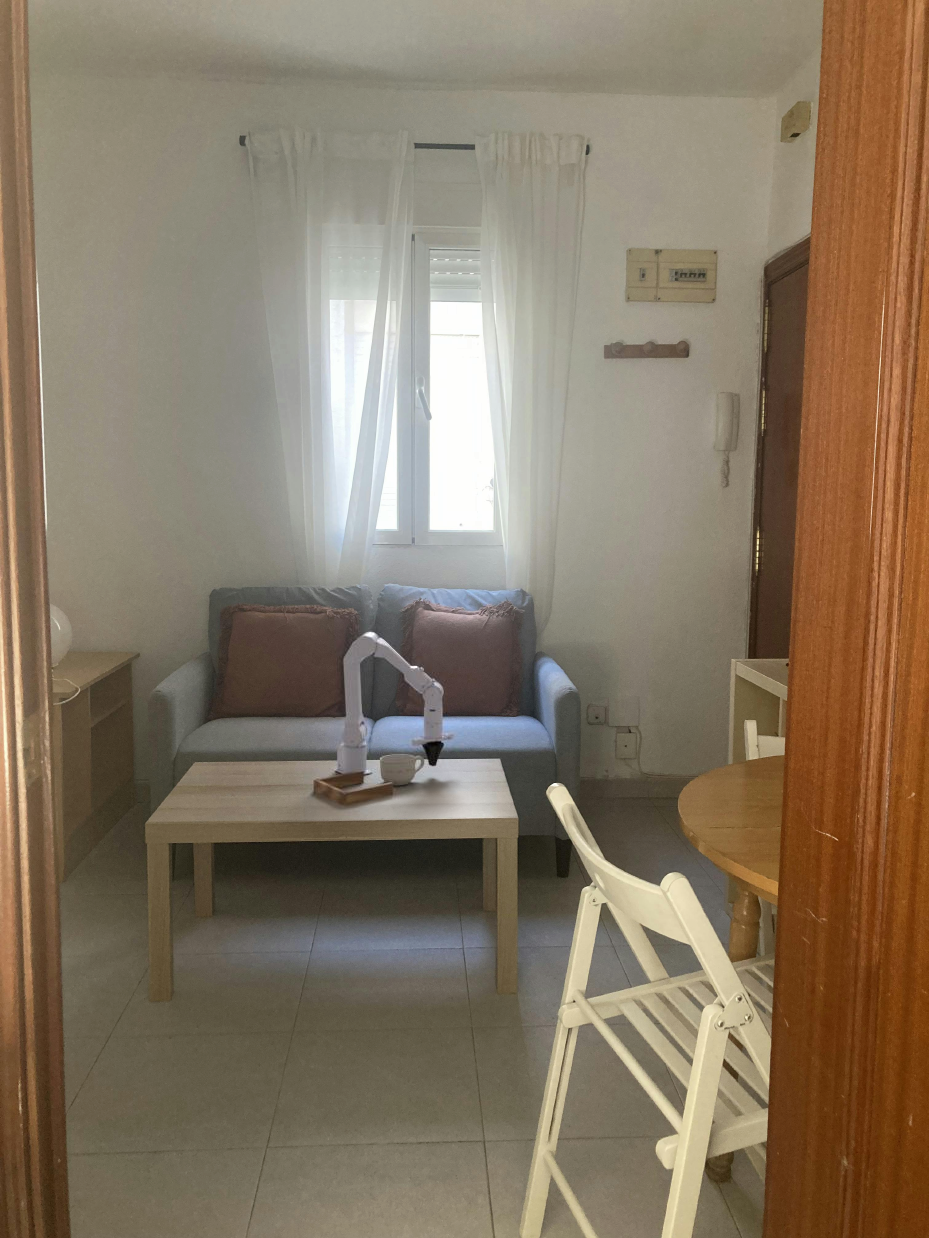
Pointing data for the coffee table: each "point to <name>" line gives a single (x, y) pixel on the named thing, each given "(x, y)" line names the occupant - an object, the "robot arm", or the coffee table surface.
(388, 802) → the coffee table surface
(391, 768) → the teacup
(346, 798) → the cradle
